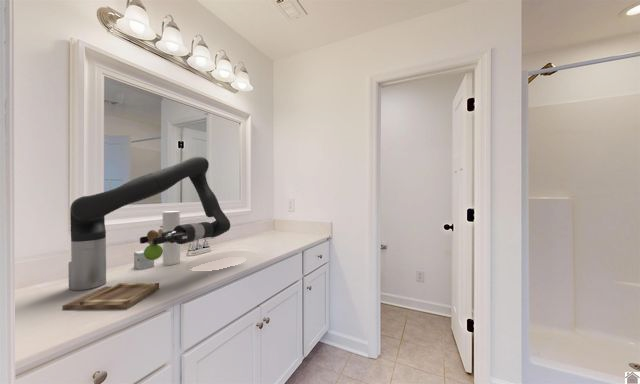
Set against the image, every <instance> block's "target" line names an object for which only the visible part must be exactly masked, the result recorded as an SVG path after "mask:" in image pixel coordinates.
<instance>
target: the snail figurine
mask: <svg viewBox="0 0 640 384" xmlns="http://www.w3.org/2000/svg"><path fill="white" fill-rule="evenodd" d="M162 232H163V225H160V226H159V229H158V231H156V230H155V229H154V230H153V229H151V230H149V231H148V232H147V234H146V236H147V238H148V240H149V241H147V242H148V243H147V244H148V245H147V246H146V247H145V249H143V250H144V256H145V257H146V258H147V259H149V260H154V261H155V260H158V259H159V258H160V257H161V256H163V246H161V244H157V245H153V242H152V240H153V238H158V237H162Z"/></svg>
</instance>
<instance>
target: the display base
mask: <svg viewBox="0 0 640 384" xmlns="http://www.w3.org/2000/svg"><path fill="white" fill-rule="evenodd" d="M159 290H160V282H144V283H143V282H139V283H138V282H137V283H135V282H133V283H132V282H131V283H130V282H129V283H128V282H127V283H126V282H125V283H121V282H120V283H118V284H115V285H113V286H112V285H111V286H110V285H109V286H106V285H105V286H104V287H101V288H99V289H97V290H95V291H94V290H93V292H89V293H88V294H85V295H83V296H80V297H78V298H77V299H76V298H75V299H74V300H71V301H69V302H67V303H64V304H62V310H118V309H119V310H122V309H123V310H126V309H127V308H128V309H129V308H131V307H132V306H135V305H136V304H138V303H139V302H141V301H142V300H144V299H146V298H147V297H149V296H151V295H152V294H154V293H156V292H157V291H159Z"/></svg>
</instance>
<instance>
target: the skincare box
mask: <svg viewBox="0 0 640 384" xmlns="http://www.w3.org/2000/svg"><path fill="white" fill-rule="evenodd" d="M144 250H145V249H142V250H138V251H137V250H136V251H134V252H133V268H135V269H137V270H144V269H148V268H153V267H154V266H155V260H149V259H147V258H146V257H145V256H144Z"/></svg>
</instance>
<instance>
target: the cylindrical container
mask: <svg viewBox="0 0 640 384" xmlns="http://www.w3.org/2000/svg"><path fill="white" fill-rule="evenodd" d="M180 213H181V212H180V211H179V210H169V211H168V210H167V211H162V226H163V229H162V230H163V232H167V231H173V230H174V228H175V227H176V226H178V225H181V222H180V221H181V217H180V216H181V215H180ZM162 249H163V253H162V265H163V266H171V265H177V264H179V263H181V244H177V243H176V242H175V243H165V242H164V243H162Z"/></svg>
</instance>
